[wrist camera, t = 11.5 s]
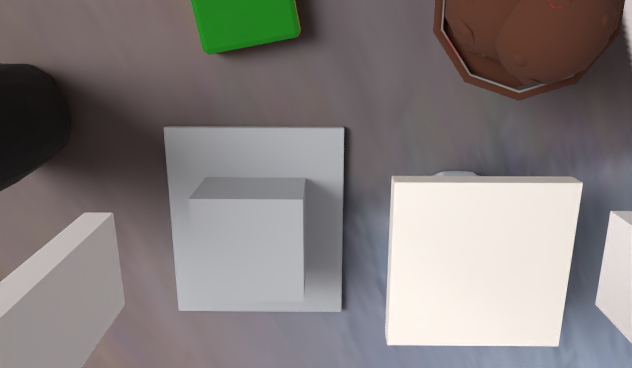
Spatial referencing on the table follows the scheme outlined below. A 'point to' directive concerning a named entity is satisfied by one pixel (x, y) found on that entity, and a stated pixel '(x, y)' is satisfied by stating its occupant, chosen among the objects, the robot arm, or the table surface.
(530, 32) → the ice cream bowl
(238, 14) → the dish sponge
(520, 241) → the white flat square block
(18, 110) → the portable speaker
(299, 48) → the table surface
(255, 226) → the stand
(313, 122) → the table surface
